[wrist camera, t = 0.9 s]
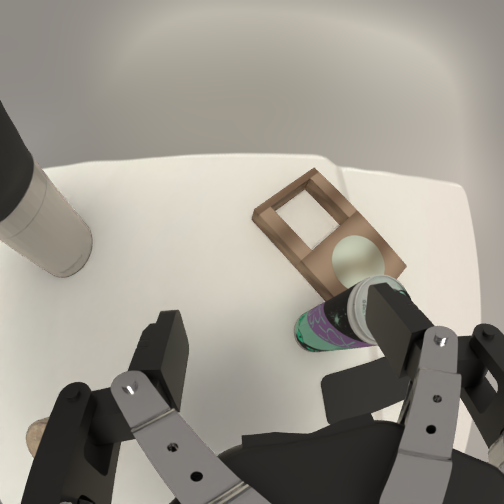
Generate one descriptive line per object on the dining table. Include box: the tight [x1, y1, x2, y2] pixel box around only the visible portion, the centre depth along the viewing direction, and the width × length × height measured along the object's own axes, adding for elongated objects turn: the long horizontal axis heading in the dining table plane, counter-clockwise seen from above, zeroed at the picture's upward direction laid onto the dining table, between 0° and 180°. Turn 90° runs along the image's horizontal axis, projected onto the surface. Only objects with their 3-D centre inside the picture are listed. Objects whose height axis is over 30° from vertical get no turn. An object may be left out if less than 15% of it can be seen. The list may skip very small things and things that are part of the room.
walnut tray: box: [252, 168, 407, 301], centre depth 39 cm, size 20×12×3 cm, turn 41°
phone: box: [321, 357, 410, 424], centre depth 34 cm, size 7×1×15 cm
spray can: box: [294, 274, 411, 352], centre depth 27 cm, size 6×6×20 cm
